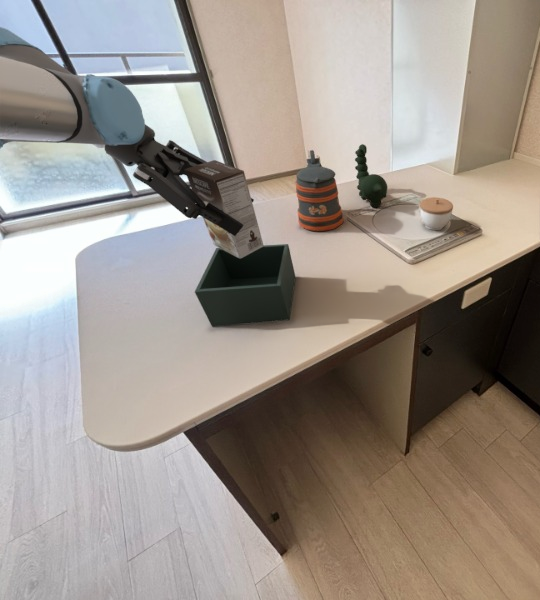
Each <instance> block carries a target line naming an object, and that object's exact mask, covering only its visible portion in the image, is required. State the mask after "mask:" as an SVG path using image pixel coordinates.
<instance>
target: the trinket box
mask: <svg viewBox="0 0 540 600" xmlns="http://www.w3.org/2000/svg"><path fill="white" fill-rule="evenodd" d="M453 210H454V204H453V202H451V201H450V200H449V199H447V198H443V197H435V196H433V197H426V198H423V199H422V200H421V201H420V202H419V216H420V220H421V222H422V224H423V225H424V227H426V229H428V230H432V231H441V230H442V229H443V228H444V227H446V226H447V225H448V224H449V222H450V220H451V217H452V214H453Z"/></svg>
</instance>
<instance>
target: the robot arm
mask: <svg viewBox="0 0 540 600" xmlns="http://www.w3.org/2000/svg"><path fill="white" fill-rule="evenodd" d="M155 137H156V132H155V130H154V129H153V128H152V127H150V126H148V125H147V124H146V122H145V118H144V115H143V110H142V107H141V104H140V103H139V101H138V99H137V97H136V96H135V94H134V93H133V92H132V90H130V88H128V87H127V86H126V84H124V83H122V82H121V81H119V80H117V79H115V78H112V77H109V76H108V77H107V76H97V75H95V74H89V73H87V74H86V75H79V74H74V73H73V72H71V71H70V70H68V69H67V68H65V67H64V66H63V65H61V64H59V63H58V62H57V61H55V60H54V59H53V58H52V57H50V56H48V55H47V53H46V52H44V51H43V50H42V49H40V48H39V47H37V46H35V45H33V44H32V43H30V42H28V41H26V40H25V39H23V38H22V37H20V36H18V35H17V34H15V32H12V31H11V30H9V29H8V28H4V27H2V26H0V149H2V148H3V147H4V145H6V144H9V143H12V142H16V143H18V142H21V143H50V144H51V143H53V144H54V143H55V144H56V143H57V144H61V143H62V144H63V143H65V144H81V145H83V144H84V145H93V146H95V147H96V148H97V149H103V148H104V152H105V153H106V154H107V155H108V156H110V157H112V158H113V159H115V160H117V161H118V162H119V163H121V164H123V165H124V166H126V167H133V166H135V165H136V168H135V170H134V172H133V174H132V177H133V178H135V179H136V180H137V181H140V182H141V183H143V184H145V185H147V186H148V187H149V188H150V189H152V190H153V191H154V192H155V193H156V194H158V195H159V196H160V197H162V198H163V199H164V200H165V201H166V202H168V203H169V204H170V205H171V206H172V207H174V208H175V209H176V210H177V211H179V212H180V213H181V214H182V215H184V216H185V217H186V218H188V219H195V220H197V219H198V218H199V217H202V218H203V217H204V218H205V219H207V220H208V221H210V222H212V223H213V224H215V225H217V226H219V227H221V228H222V229H224V230H225V231H227V232H229V233H230V234H232V235H234V236H236V234H237V233H238V232H239V231H240V230H241V228H242V227H243V224H242V223H240V222H239V221H237V220H235V219H234V218H232V217H231V216H229V215H228V214H226V213H224V212H223V211H221V210H220V209H218V208H217V207H215V206H214V205H212V204H210V203H208V204H207V205H206V204H205V203H204V202H203V201H202V200H201V199H200V198H199V197H198V196H197V194H196V193H195V192H194V191H193V190H192V188H191V186H190V185H189V184H188V183H187V182H186V181H185V180H184V179H183V178H182V177H181V176H183V175H184V176H186V177H187V175H186V173H185V170H184V169H187V168H190V167H193V166H196V165H200V164H203V163H207V162H208V161H207V160H204V159H203V158H201V157H199V156H198V155H196V154H193V153H192V152H190V151H188V150H187V149H185V148H184V147H182V146H180V145H179V144H177V143H176V142H175V141H173V140H172V139H169V140H168V142H167V143H166V145H165V144H163V143H160V142H159V141H157V140H156V139H155ZM251 200H252V203H254V201H255V199H254V198H253V197H251Z"/></svg>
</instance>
